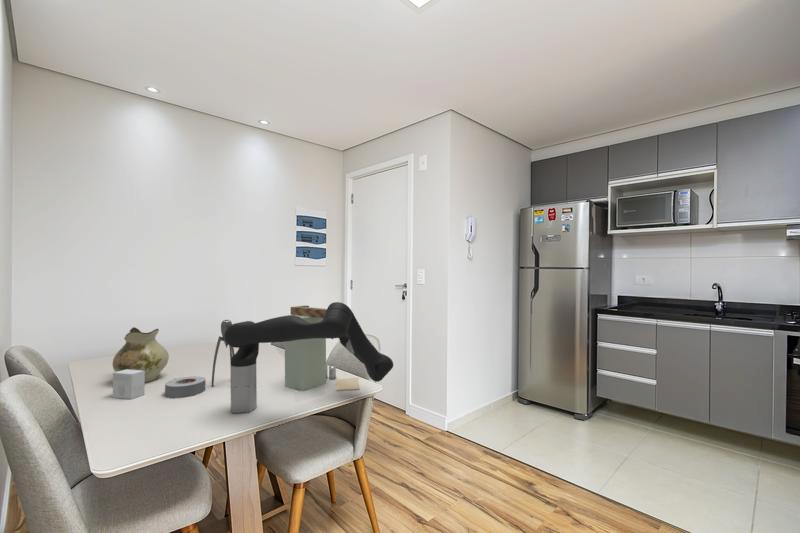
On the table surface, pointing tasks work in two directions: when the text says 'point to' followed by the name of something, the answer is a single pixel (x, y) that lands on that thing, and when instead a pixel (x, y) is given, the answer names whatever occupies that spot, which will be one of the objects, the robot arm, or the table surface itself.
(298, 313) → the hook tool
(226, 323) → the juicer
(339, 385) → the mat
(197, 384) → the tape roll
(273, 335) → the robot arm
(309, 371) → the tall sage green pillar
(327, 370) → the spacer
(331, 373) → the cylinder
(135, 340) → the green ceramic vase
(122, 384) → the skincare box
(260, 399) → the table surface
